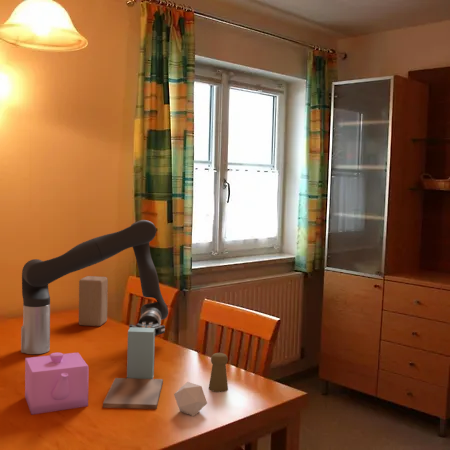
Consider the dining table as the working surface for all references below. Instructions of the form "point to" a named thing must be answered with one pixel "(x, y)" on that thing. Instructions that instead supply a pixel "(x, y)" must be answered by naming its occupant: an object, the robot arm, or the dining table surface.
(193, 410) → the die
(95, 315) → the block
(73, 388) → the teapot
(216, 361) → the cork
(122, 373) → the dining table surface
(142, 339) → the pillar
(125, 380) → the board
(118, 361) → the dining table surface
